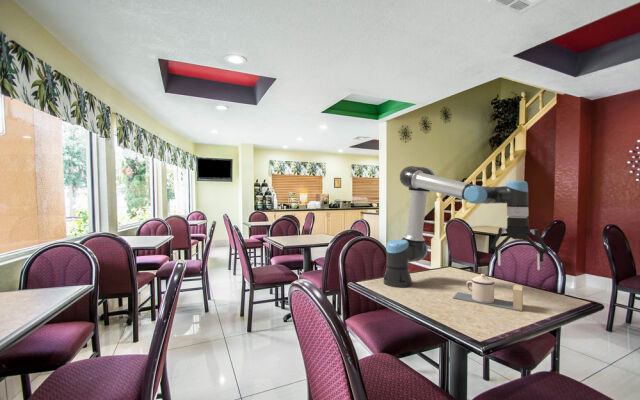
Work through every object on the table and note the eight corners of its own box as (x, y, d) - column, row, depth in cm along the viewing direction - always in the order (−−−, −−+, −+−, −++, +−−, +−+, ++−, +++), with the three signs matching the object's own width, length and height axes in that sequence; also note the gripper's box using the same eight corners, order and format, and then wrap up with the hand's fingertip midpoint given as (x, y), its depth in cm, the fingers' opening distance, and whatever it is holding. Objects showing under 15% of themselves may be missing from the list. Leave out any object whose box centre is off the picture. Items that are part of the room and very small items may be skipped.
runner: (453, 298, 131) (453, 280, 131) (457, 292, 139) (457, 275, 139) (521, 311, 115) (521, 291, 115) (522, 304, 123) (522, 285, 123)
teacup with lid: (498, 301, 126) (498, 275, 126) (488, 305, 121) (488, 278, 121) (471, 293, 136) (471, 269, 136) (461, 297, 131) (461, 272, 131)
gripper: (482, 216, 125) (483, 264, 124) (556, 218, 109) (557, 273, 109) (485, 216, 131) (485, 262, 130) (555, 217, 115) (556, 269, 115)
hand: (518, 267), depth 120 cm, fingers open, 13 cm apart
